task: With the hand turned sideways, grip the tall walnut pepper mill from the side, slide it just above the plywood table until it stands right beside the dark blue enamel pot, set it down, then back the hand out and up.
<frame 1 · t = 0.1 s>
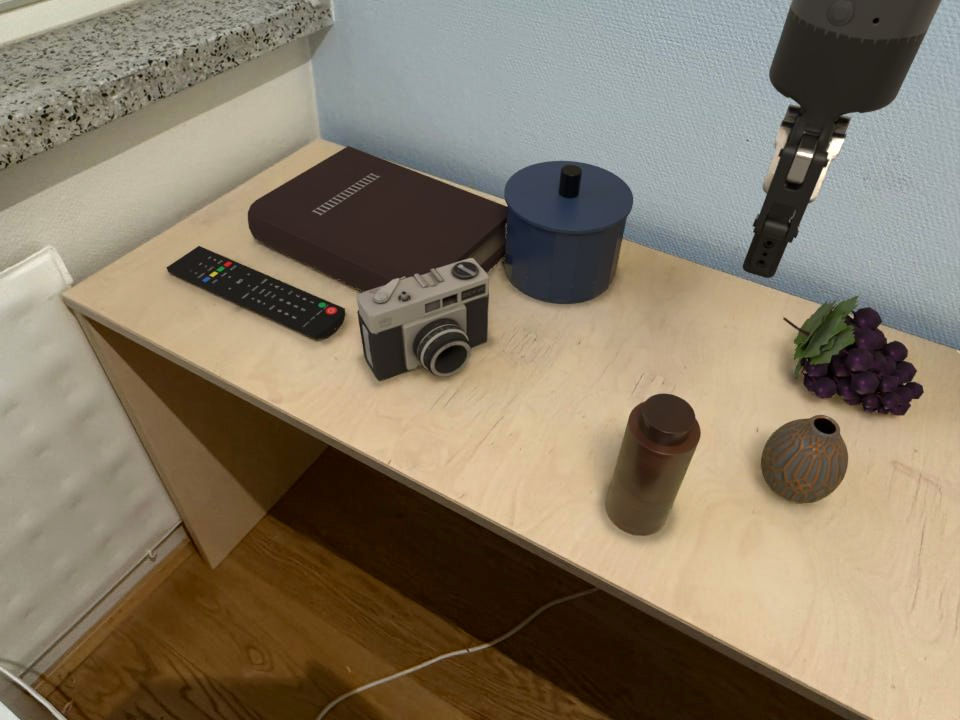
hand: (768, 241, 50), 24 cm above the table, tool pointing down, fingers open, 8 cm apart
pot: (558, 268, 86), on the table
camera: (431, 361, 74), on the table
pot lid: (568, 196, 78), point 10 cm above the table, touching pot
vase: (788, 484, 63), on the table
remote control: (257, 298, 81), on the table
fruit: (831, 388, 72), on the table
pepper mill: (636, 508, 61), on the table
brown slab: (384, 248, 88), on the table
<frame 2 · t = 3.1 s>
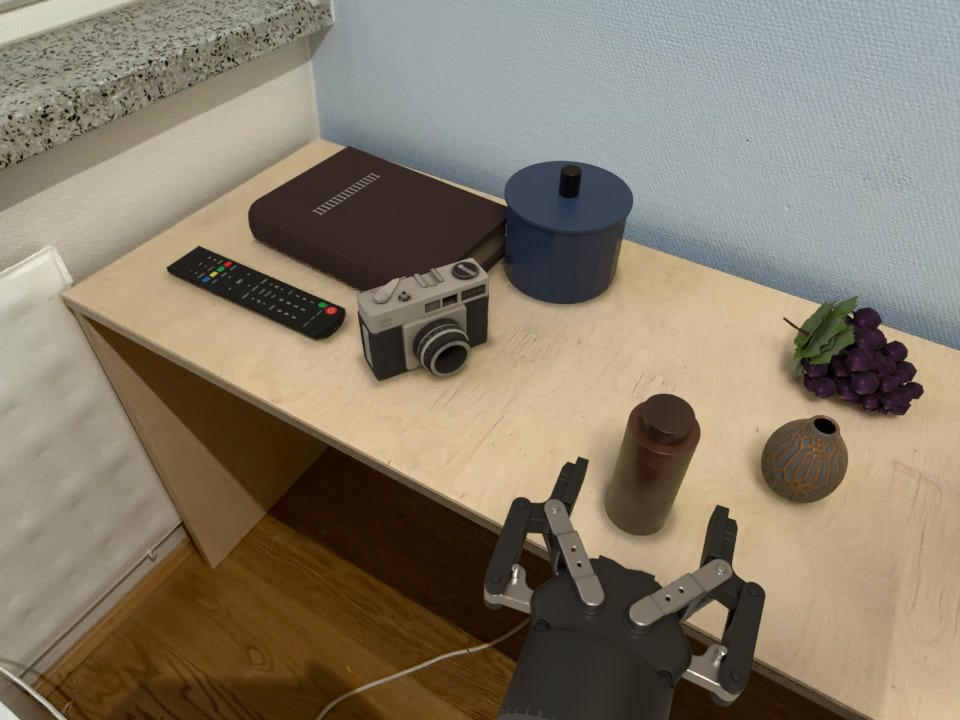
hand: (648, 488, 41), 18 cm above the table, tool horizontal, fingers open, 8 cm apart
nothing on the table moved.
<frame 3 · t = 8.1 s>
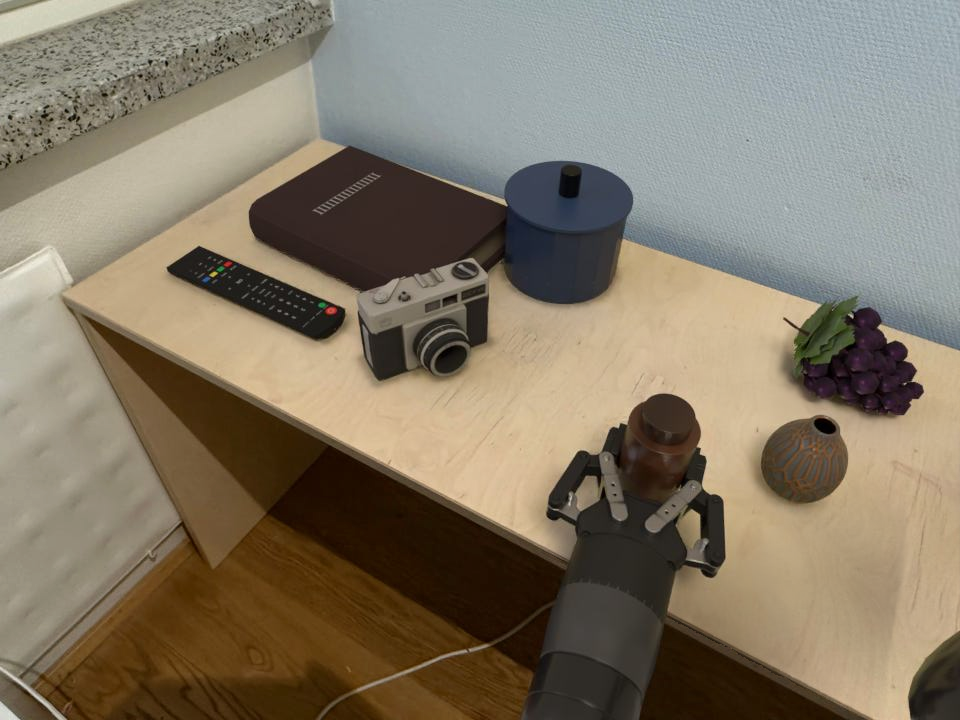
hand: (657, 441, 58), 7 cm above the table, tool horizontal, fingers closed on pepper mill, 5 cm apart
pepper mill: (636, 508, 61), on the table, touching gripper
everything else where it was.
when the fingers open (7 cm above the table, at t = 14.1 s): pepper mill stays where it is, on the table.
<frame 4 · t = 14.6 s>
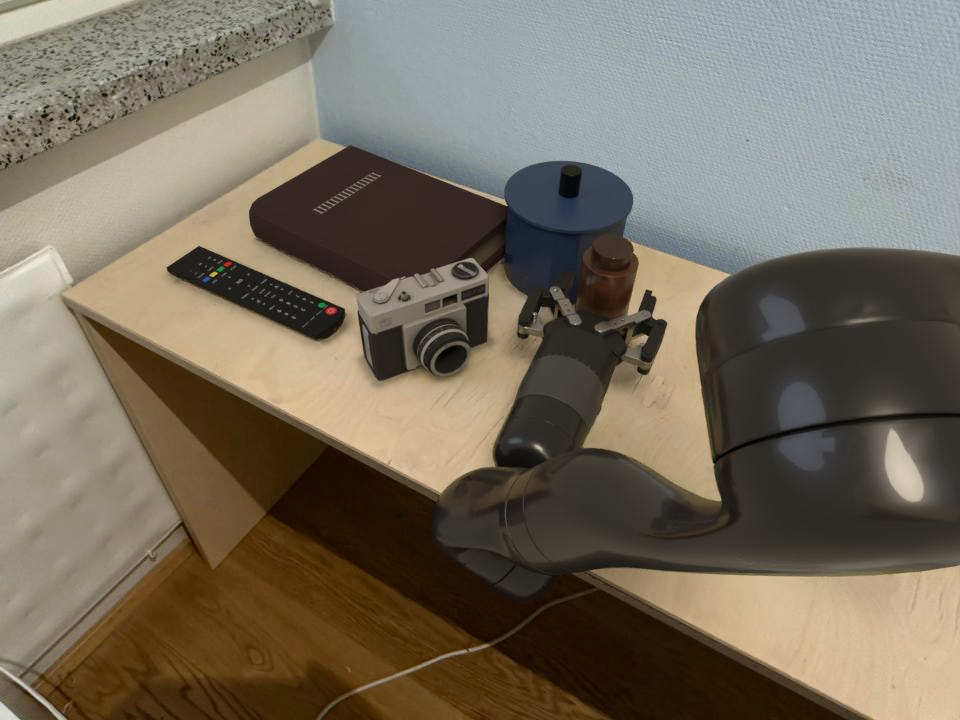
hand: (608, 285, 72), 7 cm above the table, tool horizontal, fingers open, 8 cm apart
pepper mill: (594, 344, 76), on the table
everything else where it was.
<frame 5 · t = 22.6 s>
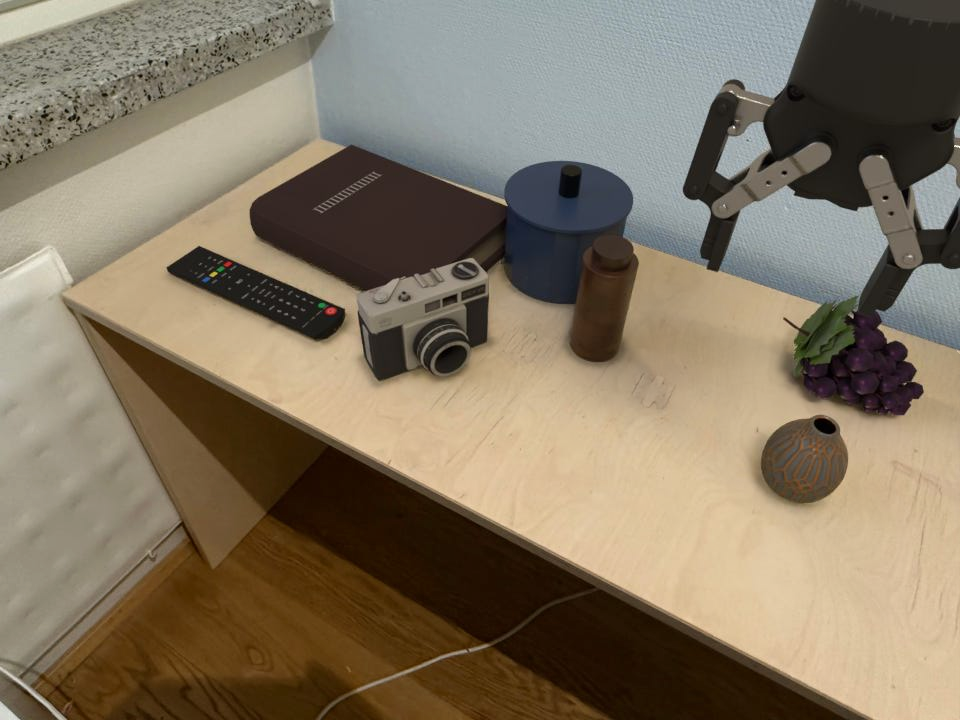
hand: (786, 285, 39), 28 cm above the table, tool pointing down, fingers open, 8 cm apart
nothing on the table moved.
at the end: pepper mill inside the target area on the table beside the pot (0.4 cm from its centre), on the table; pepper mill tilted 0°; the gripper is holding nothing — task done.
